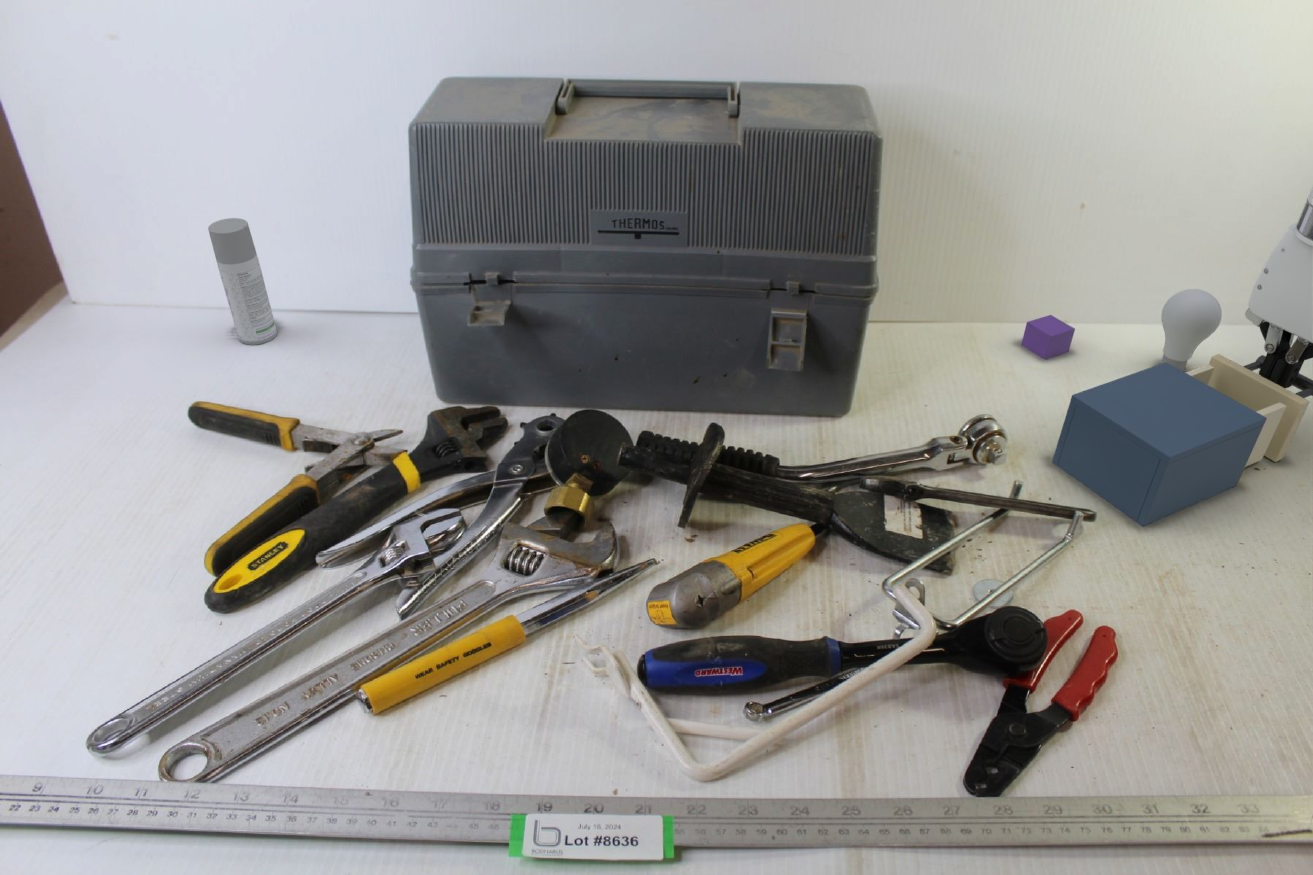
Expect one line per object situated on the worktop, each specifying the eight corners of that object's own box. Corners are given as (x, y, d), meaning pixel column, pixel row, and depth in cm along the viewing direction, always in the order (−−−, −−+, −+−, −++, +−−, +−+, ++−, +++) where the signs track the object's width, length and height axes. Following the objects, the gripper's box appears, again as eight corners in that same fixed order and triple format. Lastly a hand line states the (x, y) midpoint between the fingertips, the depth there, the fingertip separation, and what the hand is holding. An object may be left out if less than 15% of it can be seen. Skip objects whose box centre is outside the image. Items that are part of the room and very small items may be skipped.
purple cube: (1043, 342, 123) (1050, 314, 120) (1067, 357, 120) (1075, 328, 117) (1019, 349, 121) (1026, 321, 119) (1043, 364, 118) (1051, 336, 116)
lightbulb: (1204, 389, 114) (1237, 306, 107) (1149, 385, 114) (1178, 302, 108) (1189, 362, 119) (1220, 281, 112) (1136, 358, 119) (1164, 277, 113)
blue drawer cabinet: (1140, 432, 107) (1166, 361, 101) (1234, 491, 98) (1267, 417, 93) (1049, 467, 102) (1071, 394, 96) (1140, 532, 93) (1170, 457, 88)
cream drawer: (1230, 396, 111) (1253, 341, 107) (1316, 444, 103) (1345, 387, 99) (1118, 439, 104) (1137, 382, 100) (1201, 494, 97) (1227, 434, 92)
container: (231, 336, 123) (199, 226, 115) (264, 323, 126) (235, 214, 118) (251, 349, 121) (220, 237, 112) (284, 334, 124) (256, 224, 115)
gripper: (1449, 247, 88) (1362, 413, 99) (1295, 192, 99) (1232, 347, 110) (1400, 264, 85) (1316, 433, 96) (1247, 205, 96) (1187, 363, 107)
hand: (1272, 386), depth 103 cm, fingers closed
